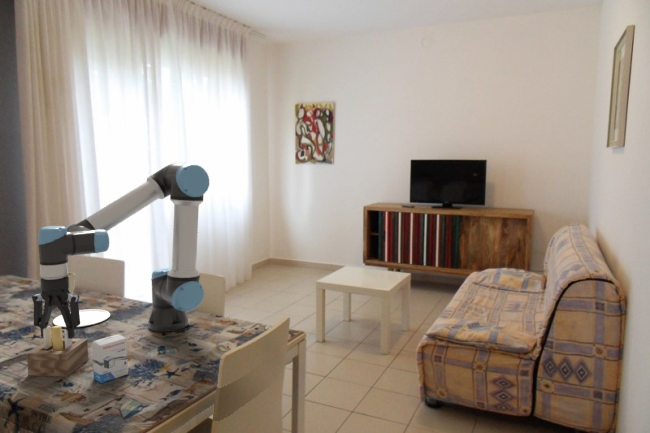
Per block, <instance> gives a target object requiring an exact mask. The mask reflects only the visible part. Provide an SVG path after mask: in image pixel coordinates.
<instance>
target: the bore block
mask: <svg viewBox="0 0 650 433" xmlns="http://www.w3.org/2000/svg"><path fill="white" fill-rule="evenodd" d="M51 339H52V337H51ZM62 339H63V349H64V351H53V343H52V346H51V347H49V348H48V349H44V342H42V343H41V344H40V345H38V346H36V347H34V348H33V349H32V350H30V351H28V352H27V353H26V360H27V361H26V362H27V375H28V376H37V377H38V376H43V377H44V376H45V377H69V376H70V375H71V374H72V373H73V372H75V371H76V370H77V369H78V368H79V367H81V366H82V365H83V364H84V363H86V362H87V361H88V360H89V346H88V341H89V340H88V338H75V337H73V338H72V345H71V346H70V347H68V348H67V349H65V337H62Z"/></svg>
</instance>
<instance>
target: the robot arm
mask: <svg viewBox="0 0 650 433" xmlns="http://www.w3.org/2000/svg"><path fill="white" fill-rule="evenodd" d="M209 187H210V177H209V174H208V173H207V171H206V169H204V167H202V166H201V165H198V164H195V163H191V162H189V163H188V162H187V163H186V162H184V163H183V162H182V163H181V162H174V163H169V164H168V165H166V166H164V167H163V168H161V169H159V170H158V171H156V172H155V173H153V174H151V175H150V176H148V177H147V178H146V181H145V182H144V183H142V184H140V185H139V186H137V187H135V188H133V189H132V190H129V192H127V193H126V194H124V195H122V196H120V197H119V198H117V199H116V200H113V201H112V202H111V203H109V204H108V205H106V206H104V207H103V208H101V209H99V210H97V211H96V212H94V213H92V214H91V215H89V216H88V217H85V219H83V220H81V221H79V222H78V223H72V224H69V225H67V226H64V225H49V226H48V225H47V226H42V227H41V228H39V229H38V233H37V234H38V236H37V238H38V239H37V240H38V241H37V244H38V246H37V247H38V256H39V276H40V277H41V278H40V289H41V293H37V294H33V295H32V296H31V299H32V302H33V326H34V327H38V328H39V329H40V337H41V339H43V343H44V349H48V348H49V347H51V346H52V339H51V338H52V333H51V326H50V323H49V322H50V320H51V319H50V318H51V315H52V311H53V307H54V306H55V307H57V309H58V310H59V311H60V314H61V315H62V317H63V319H64V322H65V325H66V327H67V328H64V330H63V331H64V332H63V333H64V338H65V349H67V348H68V347H70V346H71V345H72V338H75V327H77V326H78V325H80V315H79V310H80V307H79V306H80V305H79V300H80V295H79V294H76V295H74V294H73V295H72V294H70V292H69V290H68V289H69V276H67V274H68V273H69V259H68V257H70V256H71V257H72V256H80V255H90V254H98V253H104V252H107V251H108V250H109V248H110V236H109V233H108V231H110V230H112V229H113V228H114V227H116V226H117V225H119V224H121V223H122V222H124V221H126V220H127V219H129V218H130V217H132V216H133V215H135V214H137V213H139V212H140V211H141V210H143V209H144V208H146V207H148V206H150V205H151V204H152V203H154V202H155V201H158V199H159V200H163V199H165V198H167V197H169V196H170V198H169V200H170V201H171V202H172V204H174V205H173V227H172V228H173V232H172V233H173V234H172V237H173V238H172V258H171V259H172V263H171V267H165V268H159V269H156V270H153V271H152V273H151V297H152V298H151V301H152V308H151V312H150V315H149V318H148V322H147V328H148V329H149V330H150V331H153V332H159V333H169V332H170V333H171V332H175V331H179V329H180V330H182V329H184V328H186V327H188V326H189V325H188V324H189V316H188V314H187V312H191V311H194V310H195V309H196V308H198V307H199V305H201V304H202V302H203V300H204V297H205V289H204V287H203V285H202V284H201V282H200V280H201V273H200V272H199V270H198V269H197V254H198V253H197V251H198V234H199V232H198V229H199V208H200V205H201V204H202V203H204V194H205V193H206V192H207V191H208V189H209ZM68 298H69V301H67V299H68ZM43 300H44V305H43ZM70 312H71V313H70ZM77 328H78V327H77Z"/></svg>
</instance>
